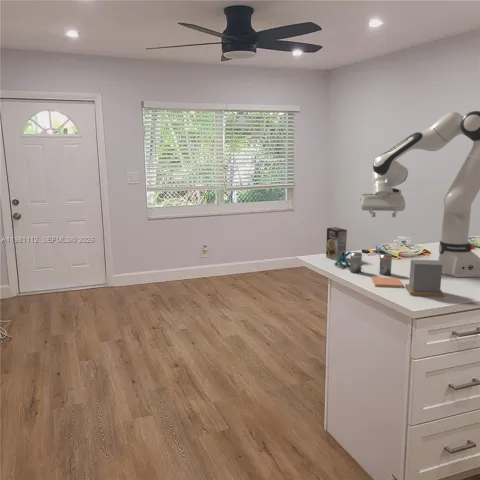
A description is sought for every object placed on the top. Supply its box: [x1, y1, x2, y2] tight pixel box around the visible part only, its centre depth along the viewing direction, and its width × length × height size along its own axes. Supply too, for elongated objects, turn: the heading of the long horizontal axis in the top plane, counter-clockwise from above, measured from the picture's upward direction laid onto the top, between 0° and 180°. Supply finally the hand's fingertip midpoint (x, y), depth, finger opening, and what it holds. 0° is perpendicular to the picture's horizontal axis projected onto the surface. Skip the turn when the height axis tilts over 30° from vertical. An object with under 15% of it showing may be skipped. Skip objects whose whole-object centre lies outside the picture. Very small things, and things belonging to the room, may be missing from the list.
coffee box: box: [325, 226, 348, 262], centre depth 225 cm, size 9×6×16 cm
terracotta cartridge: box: [379, 253, 393, 277], centre depth 195 cm, size 5×5×9 cm
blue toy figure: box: [334, 251, 352, 269], centre depth 211 cm, size 11×6×10 cm
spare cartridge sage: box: [349, 251, 363, 274], centre depth 200 cm, size 5×5×9 cm
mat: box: [371, 276, 404, 288], centre depth 182 cm, size 11×11×1 cm
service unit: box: [404, 259, 444, 298], centre depth 169 cm, size 12×10×12 cm
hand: (383, 216), depth 203 cm, fingers open, 8 cm apart
